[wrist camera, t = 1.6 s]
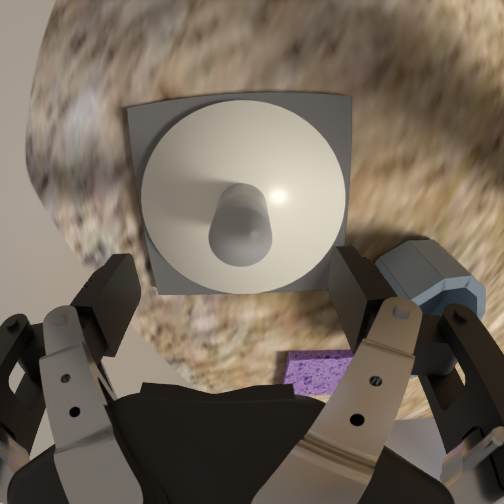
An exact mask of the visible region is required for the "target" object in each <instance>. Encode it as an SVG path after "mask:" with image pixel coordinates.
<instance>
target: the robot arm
mask: <svg viewBox="0 0 504 504" xmlns="http://www.w3.org/2000/svg"><path fill="white" fill-rule="evenodd" d="M328 286H329V294H330V297H331V299H332V302H333V304H334V307H335V309H336V312H337V314H338V317H339V319H340V322H341V324H342V327H343V330H344V332H345V335H346V337H347V340H348V343H349V345H350V348H351V351H352V353H353V354H355V355H354V357H353V359H352V360H351V362H350V364H349V366H348V368H347V369H346V371H345V373H344V375H343V377H342V378H341V380H340V382H339V383H338V385H337V387H336V388H335V390H334V392H333V393H332V395H331V397H330V398H329V400H328V402H327V403H324V402H322V401H320V400H318V399H315V398H312V397H308V396H304V395H298V394H294V387H293V383H290V384H276V385H257V386H251V387H247V388H242V389H238V390H233V391H229V392H224V393H219V394H210V393H206V392H202V391H198V390H194V389H190V388H186V387H183V386H179V385H171V384H157V383H145V382H143V383H142V387H141V390H140V393H136V394H131V395H127V396H124V397H121V398H119V399H118V398H117V396H116V394H115V392H114V390H113V387H112V385H111V382H110V380H109V378H108V375H107V373H106V370H105V368H104V365H103V364H102V362H101V359H102V357H103V356H108V357H115V355H116V353H117V350H118V348H119V346H120V343H121V341H122V339H123V337H124V334H125V332H126V330H127V328H128V325H129V323H130V321H131V319H132V316H133V314H134V312H135V310H136V308H137V306H138V303H139V301H140V298H141V287H140V283H139V279H138V275H137V271H136V267H135V263H134V259H133V257H132V255H131V254H130V253H127V254H113V255H112V256H111V257H110V258H109V260H108V261H107V262H106V263H105V265H104V266H102V267H101V268H99V269H98V270H97V271H95V272H94V273H93V274H92V275H91V277H90V278H89V280H88V281H87V282H86V283H85V285H84V288H82V289H81V290H80V292H79V293H78V294H77V296H76V297H75V298H74V300H73V301H72V303H71V304H70V305H69V306H68V305H66V306H60V307H57V308H55V309H54V310H52V311H50V312H49V313H48V314H47V315H46V317H45V318H44V321H43V323H39V324H33V325H30V323H29V321H28V319H27V317H26V316H25V315H24V314H16V315H13V316H11V317H9V318H8V319H6V320H5V321H4V322H3V324H2V325H1V326H0V502H2V503H4V504H497V503H499V502H501V501H502V500H504V354H503V353H502V351H501V350H500V348H499V347H498V345H497V344H496V342H495V341H494V339H493V338H492V336H491V335H490V334H489V332H488V331H487V329H486V328H485V326H484V325H483V324H482V322H481V321H480V320H479V318H478V317H477V315H476V314H475V313H474V312H473V311H472V310H471V309H470V308H468V307H466V306H464V305H462V304H457V303H452V304H448V305H447V306H445V308H444V310H443V313H442V315H441V316H439V315H429V314H422V311H421V309H420V307H419V306H418V305H417V304H416V303H415V302H413V301H411V300H409V299H407V298H403V297H398V296H397V294H396V293H395V291H394V290H393V288H392V287H391V285H390V284H389V283H388V281H387V280H386V279H385V278H384V276H383V274H382V273H381V272H380V270H379V269H378V267H377V266H376V265H375V263H373V262H372V261H370V260H369V259H367V258H366V257H361V256H360V255H359V254H358V252H357V251H356V249H355V248H354V247H353V246H352V245H350V246H334V247H333V249H332V256H331V265H330V273H329V282H328ZM16 362H18V363H19V365H20V366H21V368H22V369H23V370H24V372H25V374H24V376H23V378H22V380H21V382H20V384H19V386H18V388H17V390H16V392H15V394H14V393H13V392H12V390H11V389H10V387H9V376H10V374H11V372H12V370H13V368H14V366H15V364H16ZM457 362H458V363H459V365H460V366H461V368H462V370H463V372H464V374H465V386H464V384H463V382H462V380H461V378H460V376H459V374H458V372H457V370H456V369H455V365H456V363H457ZM410 375H418V377H419V380H420V382H421V385H422V387H423V390H424V392H425V395H426V397H427V400H428V402H429V405H430V407H431V410H432V413H433V416H434V418H435V421H436V424H437V427H438V430H439V432H440V435H441V438H442V441H443V444H444V448H445V451H446V454H447V456H446V457H445V459H444V461H443V464H442V473H441V475H440V480H441V482H442V483H441V482H440V481H438V480H437V479H435V478H433V477H432V476H430V475H428V474H427V473H425V472H424V471H422V470H421V469H419V468H417V467H416V466H414V465H413V464H411V463H410V462H408V461H407V460H405V459H404V458H402V457H401V456H399V455H398V454H396V453H395V452H394V451H392V450H391V449H389V448H388V447H386V446H385V443H386V440H387V438H388V435H389V433H390V431H391V428H392V426H393V423H394V421H395V418H396V416H397V413H398V410H399V408H400V405H401V402H402V399H403V396H404V393H405V390H406V387H407V384H408V381H409V378H410ZM45 408H47V413H48V417H49V422H50V426H51V430H52V434H53V438H54V442H55V444H54V445H52V446H51V447H49V448H48V449H47V450H45V451H44V452H42V453H41V454H40V455H38V456H37V457H36V458H34V459H32V460H31V461H30V458H29V456H30V452H31V449H32V446H33V443H34V440H35V436H36V434H37V431H38V428H39V425H40V422H41V419H42V416H43V414H44V411H45Z"/></svg>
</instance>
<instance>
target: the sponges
mask: <svg viewBox="0 0 504 504" xmlns="http://www.w3.org/2000/svg"><path fill="white" fill-rule="evenodd" d="M354 355H355V354H353V353H352V351H351V350H329V351H289V352H288V357H287V361H286V367H285V372H284V376H283V382H282V384H290V383H293V387H294V394H298V395H304V396H308V395H309V394H312V395H327V394H329V395H332V393H333V392H334V390H335V388H336V387H337V385H338V383H339V382H340V380H341V378H342V377H343V375H344V373H345V371H346V369H347V368H348V366H349V364H350V362H351V360H352V359H353V357H354Z"/></svg>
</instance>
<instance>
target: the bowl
mask: <svg viewBox="0 0 504 504" xmlns="http://www.w3.org/2000/svg"><path fill="white" fill-rule="evenodd" d="M375 265H376V266H377V267H378V269H379V270H380V272H381V273H382V274H383V276H384V278H385V279H386V280H387V281H388V283H389V284H390V285H391V287H392V288H393V290H394V291H395V293H396V294H397V296H398V297H403V298H407V299H409V300H411V301H413V302H415V303H416V304H417V305H418V306H419V307H420V309H421V311H422V314H429V315H439V316H441V315H442V313H443V310H444V308H445V306H447V305H448V304H452V303H457V304H462V305H464V306H466V307H468V308H470V309H471V310H472V311H473V312H474V313H475V314H476V315H477V317H478V318H479V320H480V321H481V319H482V317H483V315H484V313H485V300H486V289H485V287H484V286H483V285H482V284H481V283H480V282H479V281H478V280H477V279H476V278H475V277H474V276H473V275H472V274H471V273H470V272H469V271H468V270H467V269H466V268H465V267H464V266H462V265H461V264H460V263H459V262H458V261H457V260H456V259H455V258H454V257H453V256H452V255H451V254H450V253H449V252H447V251H446V250H445V249H444V248H443V247H442V246H440V245H439V244H438V243H437V242H436V241H434V240H408V241H406V242H404V243H402V244H401V245H399V246H397V247H396V248H394V249H392V250H391V251H389V252H387V253H385V254H384V255H382V256H380V257H379V258H378V259H377V261H376V262H375ZM417 376H418V375H410V378H413V377H417Z"/></svg>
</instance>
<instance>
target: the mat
mask: <svg viewBox="0 0 504 504" xmlns="http://www.w3.org/2000/svg"><path fill="white" fill-rule="evenodd" d="M235 100H253V101H259V102H265V103H269V104H273V105H276V106H279V107H282V108H284V109H286V110H289V111H291V112H293V113H295V114H296V115H298V116H299V117H301V118H303V119H304V120H306V121H307V122H308V123H309V124H310V125H312V126H313V127H314V128H315V129H316V130H317V131H318V132H319V133H320V134H321V135H322V136H323V138H324V139H325V140H326V141H327V143H328V144H329V146H330V147H331V149H332V150H333V152H334V154H335V156H336V158H337V160H338V163H339V165H340V168H341V171H342V175H343V179H344V186H345V210H344V216H343V220H342V224H341V227H340V230H339V232H338V235H337V237H336V239H335V241H334V243H333V244H332V246H331V248H330V249H329V251H328V252H327V253H326V255H325V256H324V257H323V259H322V260H321V261H320V262H319V263H318V264H317V265H316V266H315V267H314V268H313V269H311V270H310V271H309V272H308V273H306V274H305V275H304V276H302V277H300V278H299V279H297V280H295V281H294V282H292V283H290V284H287V285H285V286H283V287H280V288H277V289H274V290H271V291H266V292H261V293H269V292H291V291H310V290H327V289H329V286H328V282H329V273H330V265H331V256H332V249H333V247H334V246H344V243H345V233H346V223H347V212H348V200H349V186H350V169H351V143H352V96H344V95H332V94H317V93H290V92H264V93H237V94H222V95H210V96H200V97H191V98H183V99H176V100H169V101H162V102H156V103H151V104H145V105H140V106H135V107H130V108H127V113H128V125H129V135H130V145H131V153H132V161H133V169H134V176H135V183H136V189H137V195H138V201H139V207H140V213H141V218H142V224H143V229H144V234H145V239H146V244H147V248H148V253H149V257H150V262H151V266H152V270H153V275H154V279H155V283H156V287H157V291H158V295H198V294H234V293H226V292H221V291H217V290H213V289H210V288H207V287H204V286H202V285H199V284H197V283H195V282H193V281H191V280H190V279H188V278H187V277H185V276H184V275H182V274H180V273H179V272H178V271H177V270H176V269H174V268H173V267H172V266H171V265H170V264H169V263H168V262H167V261H166V260H165V259H164V258H163V256H162V255H161V254H160V252H159V251H158V250H157V248H156V247H155V245H154V243H153V241H152V239H151V238H150V235H149V233H148V230H147V228H146V225H145V221H144V217H143V213H142V204H141V188H142V182H143V176H144V173H145V169H146V166H147V163H148V161H149V159H150V157H151V155H152V153H153V151H154V149H155V148H156V146H157V145H158V143H159V142H160V140H161V139H162V138H163V137H164V135H165V134H166V133H167V132H168V131H169V130H170V129H171V128H172V127H173V126H174V125H176V124H177V123H178V122H179V121H180V120H182V119H183V118H185V117H187V116H188V115H190V114H191V113H193V112H195V111H197V110H200V109H202V108H204V107H207V106H210V105H213V104H217V103H221V102H227V101H235Z"/></svg>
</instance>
